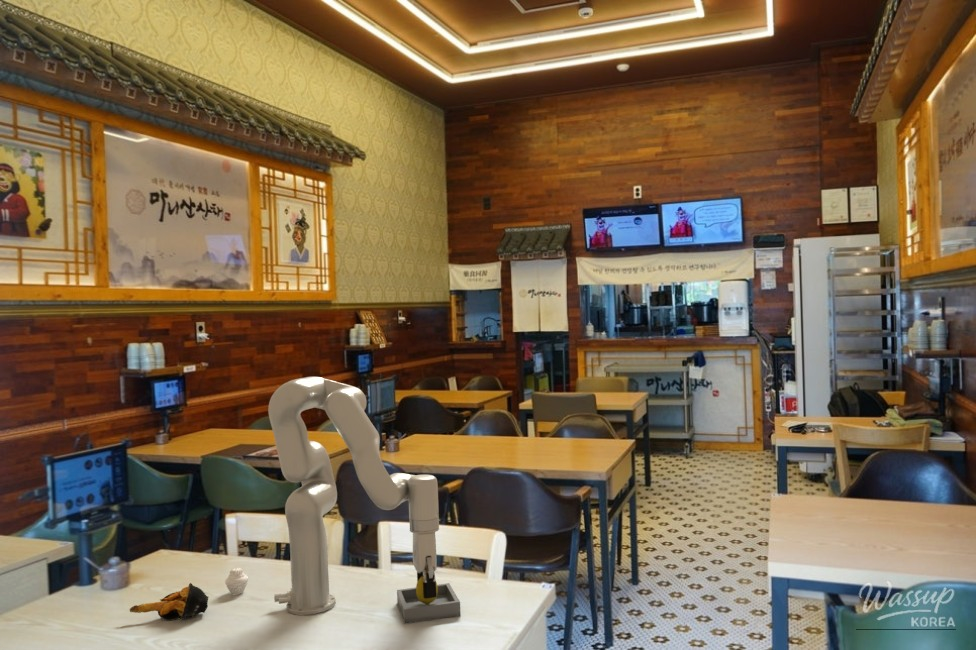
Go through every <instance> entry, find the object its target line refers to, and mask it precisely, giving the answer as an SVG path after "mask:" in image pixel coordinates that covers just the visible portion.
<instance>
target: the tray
mask: <svg viewBox="0 0 976 650" xmlns="http://www.w3.org/2000/svg"><path fill="white" fill-rule="evenodd" d="M437 587H438V592H437V597H436V599H435V600H434V601H433V602H432V603H430V604H429V605H426V604H425V603H422V602H420V601H419V599H418V598H417V595H416V587H409V588H402V589H401V588H399V589H397V590H396V601H397V606H398V609H399V612H400V614H401V617H402V620H403V623H404V624H406V625H407V624H413V623H414V624H415V623H421V622H427V621H435V620H441V619H448V618H454V617H455V618H456V617H461V615H462V614H461V601H460V599H459V597H458V596H457V594H456V593H455V591H454V588H452V585H451V584H450V582H448V583H440V584H437Z"/></svg>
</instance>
